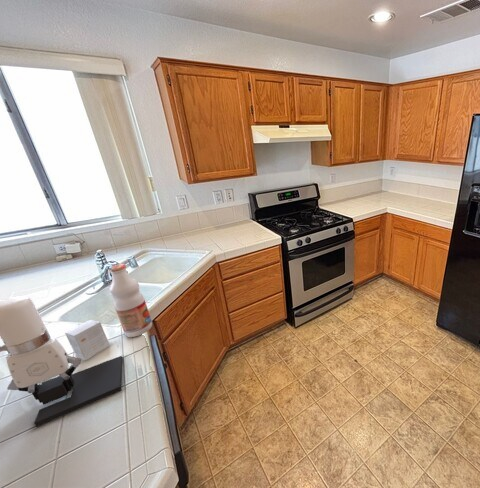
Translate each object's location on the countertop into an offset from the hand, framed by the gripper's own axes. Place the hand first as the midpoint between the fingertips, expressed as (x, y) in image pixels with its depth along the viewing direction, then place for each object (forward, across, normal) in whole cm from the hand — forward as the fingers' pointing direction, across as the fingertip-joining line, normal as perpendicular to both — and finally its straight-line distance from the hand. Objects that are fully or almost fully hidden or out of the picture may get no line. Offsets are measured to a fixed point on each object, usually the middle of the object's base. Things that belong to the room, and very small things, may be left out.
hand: (57, 392), depth 75 cm
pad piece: (0, 0, 0) cm, 0 cm away
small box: (+2, +6, +20) cm, 21 cm away
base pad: (+2, +6, 0) cm, 6 cm away
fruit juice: (+3, +20, +24) cm, 31 cm away
